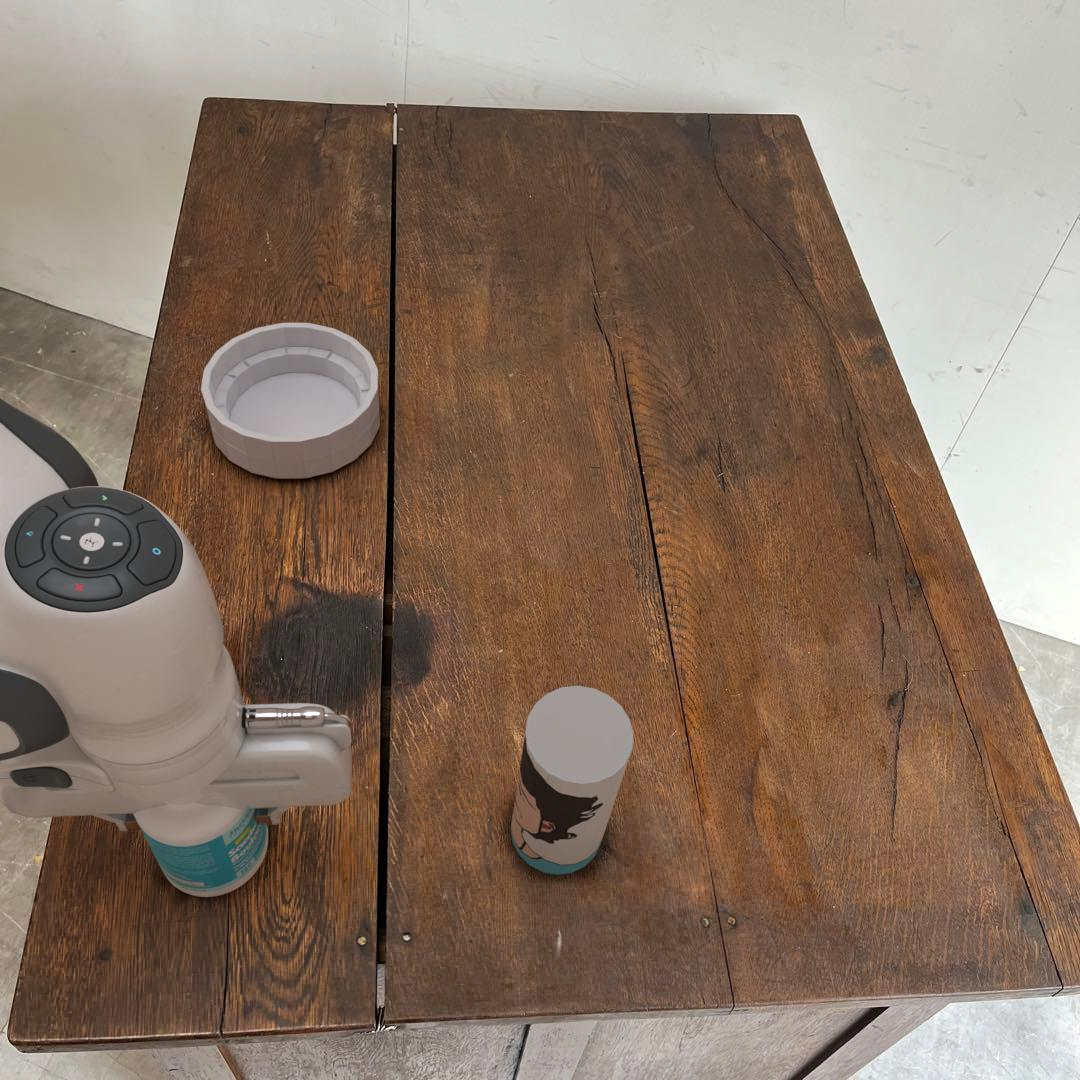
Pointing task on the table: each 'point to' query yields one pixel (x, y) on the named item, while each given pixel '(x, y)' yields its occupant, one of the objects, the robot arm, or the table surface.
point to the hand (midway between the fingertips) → (202, 817)
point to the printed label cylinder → (569, 777)
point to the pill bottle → (204, 844)
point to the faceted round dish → (292, 400)
